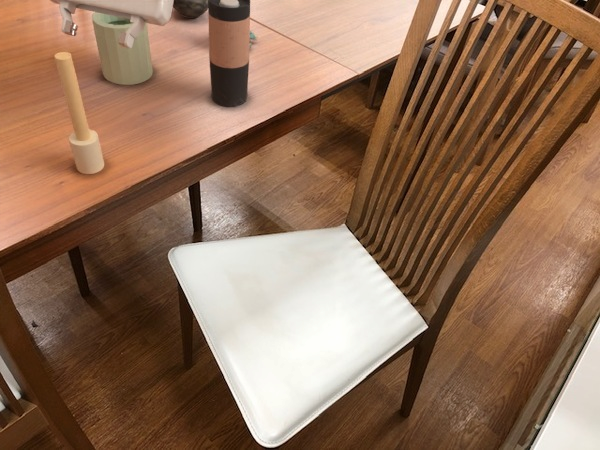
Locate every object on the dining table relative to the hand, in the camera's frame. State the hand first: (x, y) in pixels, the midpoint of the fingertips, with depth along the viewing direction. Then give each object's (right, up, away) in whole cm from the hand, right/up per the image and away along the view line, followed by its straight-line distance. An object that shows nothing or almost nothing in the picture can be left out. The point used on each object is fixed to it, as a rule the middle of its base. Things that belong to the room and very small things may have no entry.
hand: (96, 40), depth 78 cm
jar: (-5, +4, +29) cm, 29 cm away
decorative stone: (+4, +24, +50) cm, 56 cm away
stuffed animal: (+16, +14, +42) cm, 47 cm away
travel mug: (+17, -3, +26) cm, 31 cm away
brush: (-4, -19, +7) cm, 20 cm away
